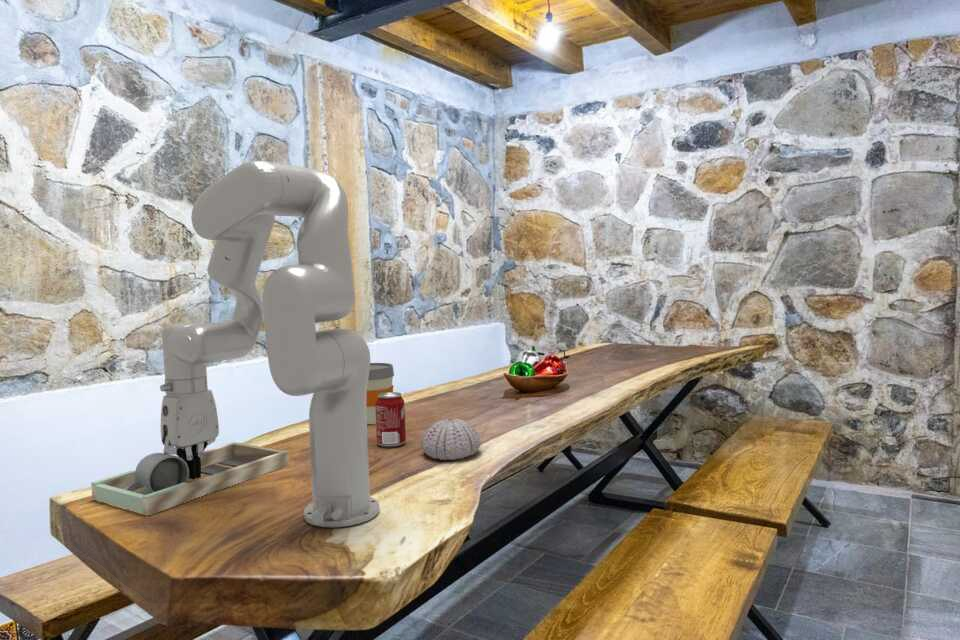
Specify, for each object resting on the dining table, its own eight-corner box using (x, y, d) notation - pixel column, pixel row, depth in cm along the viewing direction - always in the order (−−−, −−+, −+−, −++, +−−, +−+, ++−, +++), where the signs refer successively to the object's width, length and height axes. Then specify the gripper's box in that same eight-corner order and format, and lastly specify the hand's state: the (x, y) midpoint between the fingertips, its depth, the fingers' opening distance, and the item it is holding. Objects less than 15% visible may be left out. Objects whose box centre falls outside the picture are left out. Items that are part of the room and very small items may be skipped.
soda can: (400, 449, 151) (398, 397, 150) (372, 448, 152) (370, 397, 151) (409, 441, 158) (407, 391, 157) (382, 440, 159) (380, 391, 158)
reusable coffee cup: (340, 421, 180) (337, 366, 178) (378, 413, 188) (376, 361, 187) (366, 428, 171) (363, 371, 169) (404, 420, 179) (403, 365, 178)
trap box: (147, 516, 113) (146, 499, 113) (92, 500, 122) (91, 484, 122) (288, 465, 141) (287, 451, 140) (235, 455, 149) (234, 442, 149)
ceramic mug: (172, 482, 131) (169, 445, 130) (191, 491, 125) (188, 452, 125) (115, 498, 123) (111, 458, 122) (133, 508, 118) (129, 466, 117)
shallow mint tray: (147, 516, 113) (146, 497, 113) (92, 500, 122) (91, 482, 122) (189, 501, 120) (187, 483, 120) (133, 487, 129) (132, 470, 128)
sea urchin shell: (427, 466, 138) (426, 429, 137) (416, 449, 151) (415, 414, 150) (488, 460, 141) (487, 423, 141) (472, 443, 154) (471, 410, 154)
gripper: (163, 394, 120) (169, 492, 122) (231, 381, 133) (236, 469, 135) (138, 391, 124) (145, 486, 126) (207, 378, 137) (212, 464, 139)
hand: (192, 477), depth 130 cm, fingers closed
